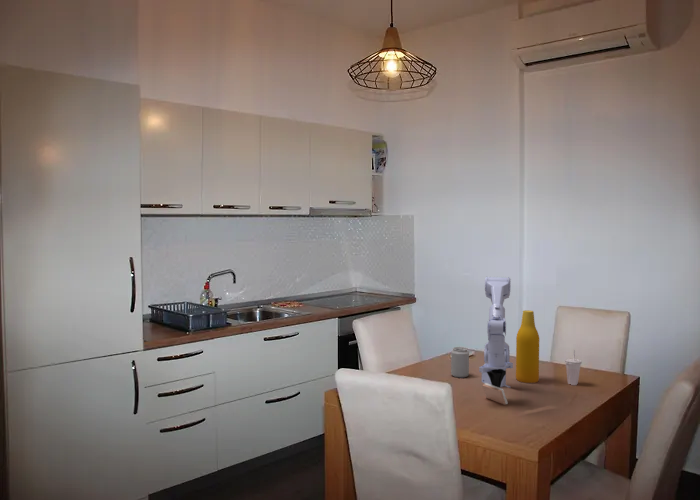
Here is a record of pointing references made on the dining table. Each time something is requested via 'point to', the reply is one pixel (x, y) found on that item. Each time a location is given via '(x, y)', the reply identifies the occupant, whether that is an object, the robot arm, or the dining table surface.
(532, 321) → the beer bottle
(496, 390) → the tile
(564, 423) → the dining table surface
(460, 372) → the can
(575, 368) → the smoothie
